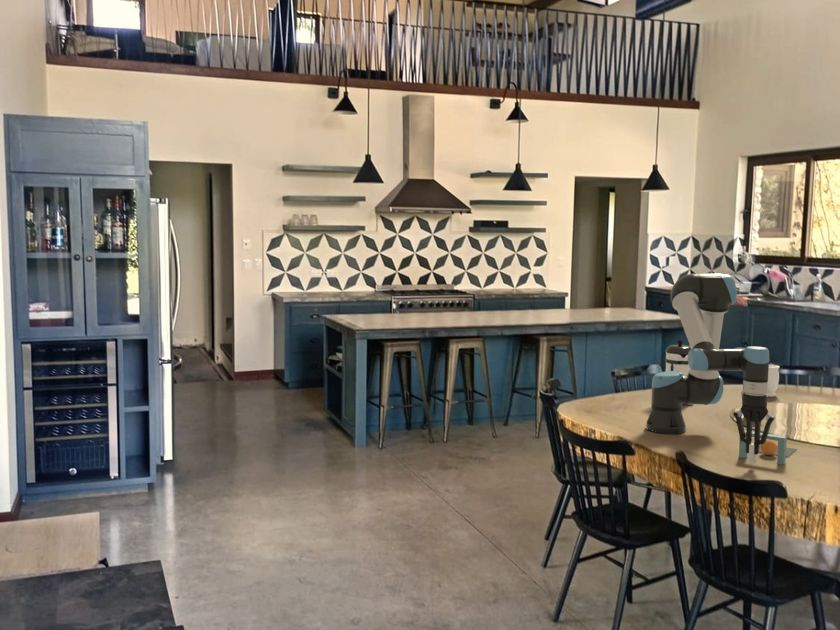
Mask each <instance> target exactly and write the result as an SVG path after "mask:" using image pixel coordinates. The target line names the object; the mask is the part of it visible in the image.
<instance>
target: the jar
mask: <svg viewBox="0 0 840 630" xmlns="http://www.w3.org/2000/svg"><path fill="white" fill-rule="evenodd" d="M780 368H781V367H780V365H777V364H770V363H769V370H768V393H767V394H766V395H767V398H769V397H770V398H773V397H776V396H777V394H776V391H777V390H778V386H779V381H780V372H779V369H780Z"/></svg>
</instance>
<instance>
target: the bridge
mask: <svg viewBox="0 0 840 630" xmlns="http://www.w3.org/2000/svg"><path fill="white" fill-rule="evenodd" d="M744 431H745V436H746V430H745V429H744ZM754 433H755V431H752V438H754ZM762 434H763V432H760V439H761V437H762ZM787 439H788V437H787V436H786V435H785V436H784V435H780V434H779V435H778V434H771V433H768V436H767V439H766V440H772V441H777V446H778V454H777V455H776V456H777V458H776V459H777V460H776V464H777V465H782V466H784V465H785V464H786V462H787V461H786V459H787V457H786V447H787V441H788V440H787ZM738 443H739V448H738V458H740V459H746V458H747V457H748V453H746V443H745V442H743V441H741V440H740V439H739V442H738Z"/></svg>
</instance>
